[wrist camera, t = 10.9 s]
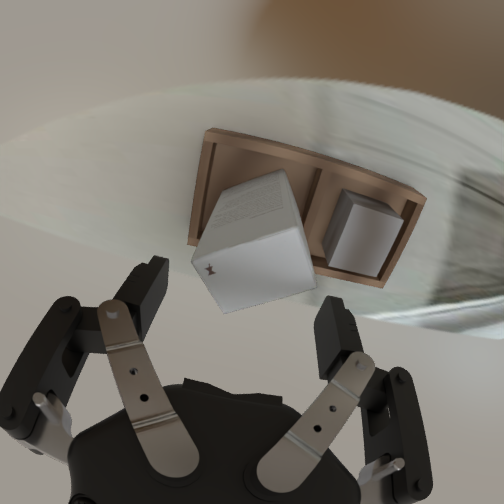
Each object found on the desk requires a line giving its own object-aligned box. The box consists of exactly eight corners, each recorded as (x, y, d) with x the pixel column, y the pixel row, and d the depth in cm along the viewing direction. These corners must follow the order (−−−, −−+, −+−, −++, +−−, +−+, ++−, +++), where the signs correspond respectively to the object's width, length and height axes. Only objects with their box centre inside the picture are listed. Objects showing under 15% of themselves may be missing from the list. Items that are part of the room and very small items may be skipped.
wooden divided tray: (413, 187, 24) (437, 206, 20) (374, 272, 29) (388, 300, 25) (212, 127, 23) (199, 134, 18) (194, 230, 28) (181, 255, 24)
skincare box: (240, 229, 27) (220, 316, 16) (221, 189, 25) (186, 260, 14) (300, 208, 25) (319, 290, 15) (285, 166, 23) (297, 223, 13)
